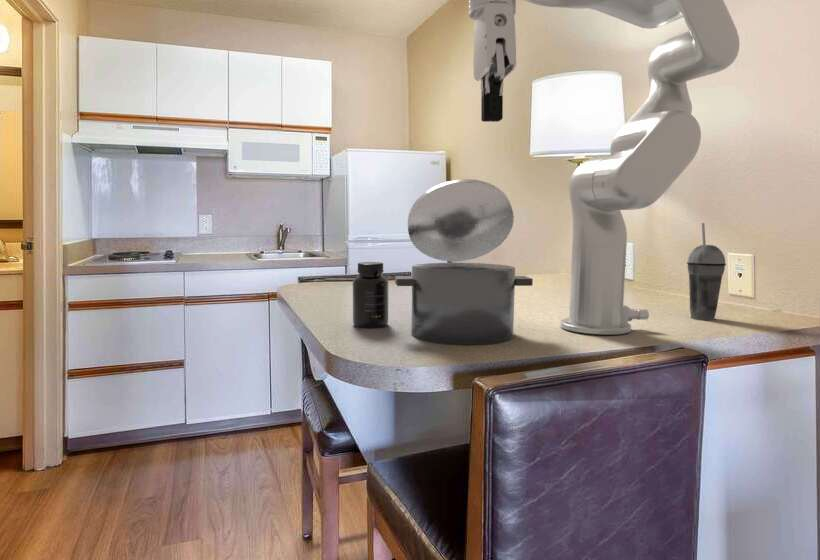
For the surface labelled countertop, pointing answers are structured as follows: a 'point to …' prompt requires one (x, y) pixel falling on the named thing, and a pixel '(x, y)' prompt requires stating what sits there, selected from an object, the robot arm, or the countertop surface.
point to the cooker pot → (463, 302)
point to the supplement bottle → (370, 296)
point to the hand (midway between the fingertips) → (491, 120)
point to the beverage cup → (705, 279)
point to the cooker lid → (460, 220)
